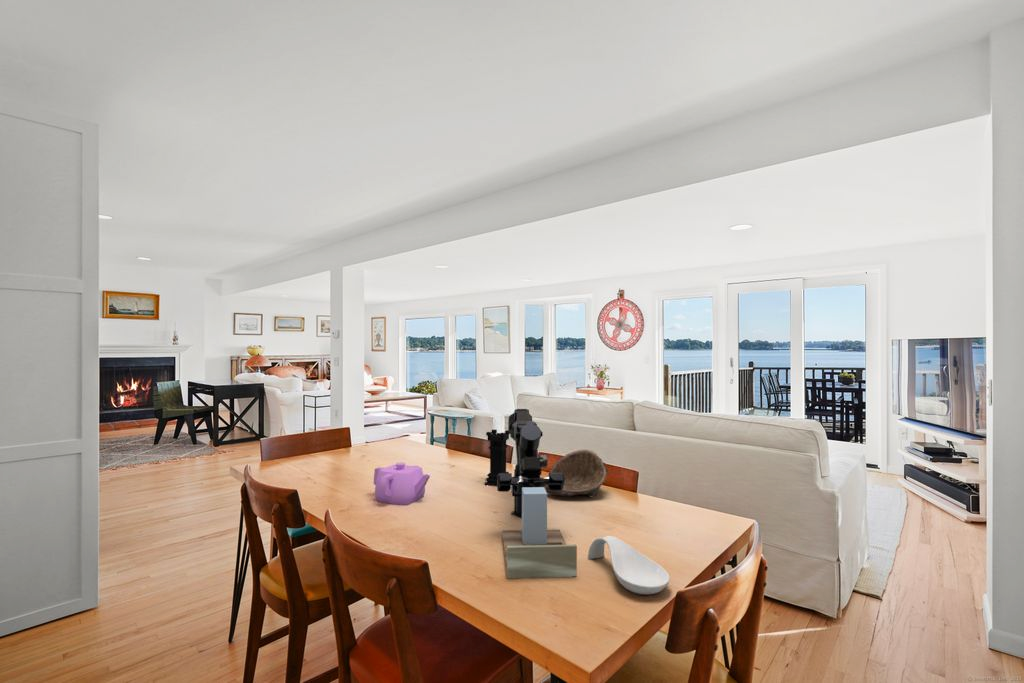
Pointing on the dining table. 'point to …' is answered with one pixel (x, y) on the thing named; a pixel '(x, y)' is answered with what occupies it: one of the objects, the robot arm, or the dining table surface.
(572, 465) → the coconut shell half
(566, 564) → the board
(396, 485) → the teakettle
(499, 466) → the chess piece
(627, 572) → the spoon rest
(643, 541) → the dining table surface
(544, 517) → the blue block
